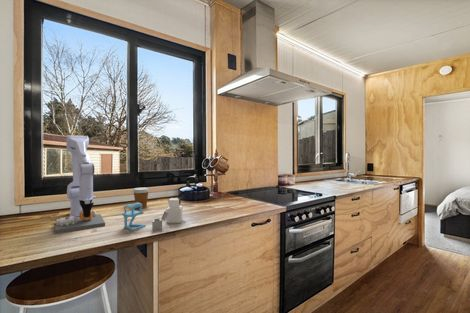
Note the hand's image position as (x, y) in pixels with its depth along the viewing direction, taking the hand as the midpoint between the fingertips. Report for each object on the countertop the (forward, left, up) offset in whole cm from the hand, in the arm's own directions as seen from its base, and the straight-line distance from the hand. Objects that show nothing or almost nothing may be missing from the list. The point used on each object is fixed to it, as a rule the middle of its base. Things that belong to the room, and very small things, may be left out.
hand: (86, 215), depth 116 cm
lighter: (+28, +28, -4) cm, 39 cm away
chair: (+19, +18, -4) cm, 26 cm away
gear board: (0, -2, -4) cm, 5 cm away
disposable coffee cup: (-18, +31, -4) cm, 36 cm away
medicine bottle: (+20, +38, -4) cm, 43 cm away
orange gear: (0, 0, -1) cm, 1 cm away
